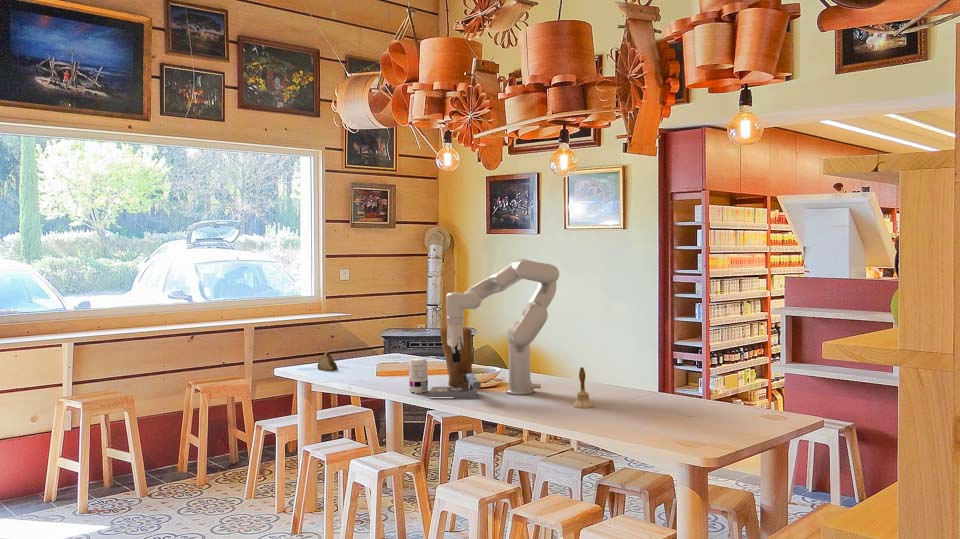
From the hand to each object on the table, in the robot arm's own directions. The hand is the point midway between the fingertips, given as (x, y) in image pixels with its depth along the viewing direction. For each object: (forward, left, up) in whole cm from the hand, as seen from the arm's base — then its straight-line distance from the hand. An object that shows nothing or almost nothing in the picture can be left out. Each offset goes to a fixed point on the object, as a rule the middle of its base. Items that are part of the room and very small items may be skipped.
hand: (456, 361), depth 343 cm
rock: (+78, -64, -15) cm, 102 cm away
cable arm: (-8, +5, -9) cm, 13 cm away
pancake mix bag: (+2, -19, -15) cm, 25 cm away
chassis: (+2, 0, -15) cm, 15 cm away
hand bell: (-54, +19, -15) cm, 60 cm away
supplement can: (+19, -8, -15) cm, 25 cm away
